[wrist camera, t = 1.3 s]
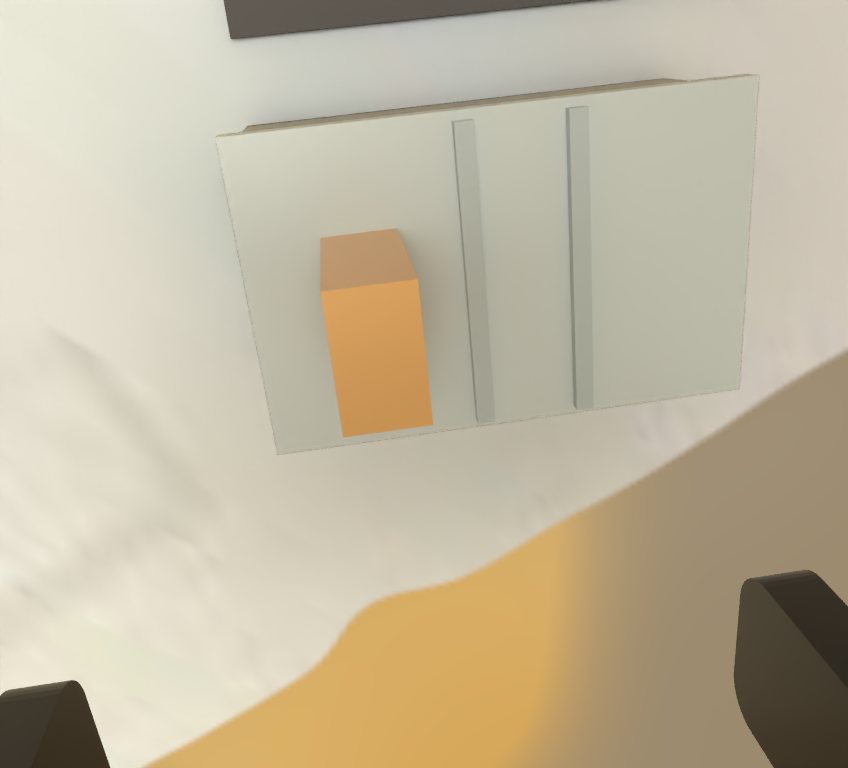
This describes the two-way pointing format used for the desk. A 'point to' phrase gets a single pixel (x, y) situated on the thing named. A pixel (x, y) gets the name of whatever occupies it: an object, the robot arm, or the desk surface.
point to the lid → (495, 258)
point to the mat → (349, 12)
